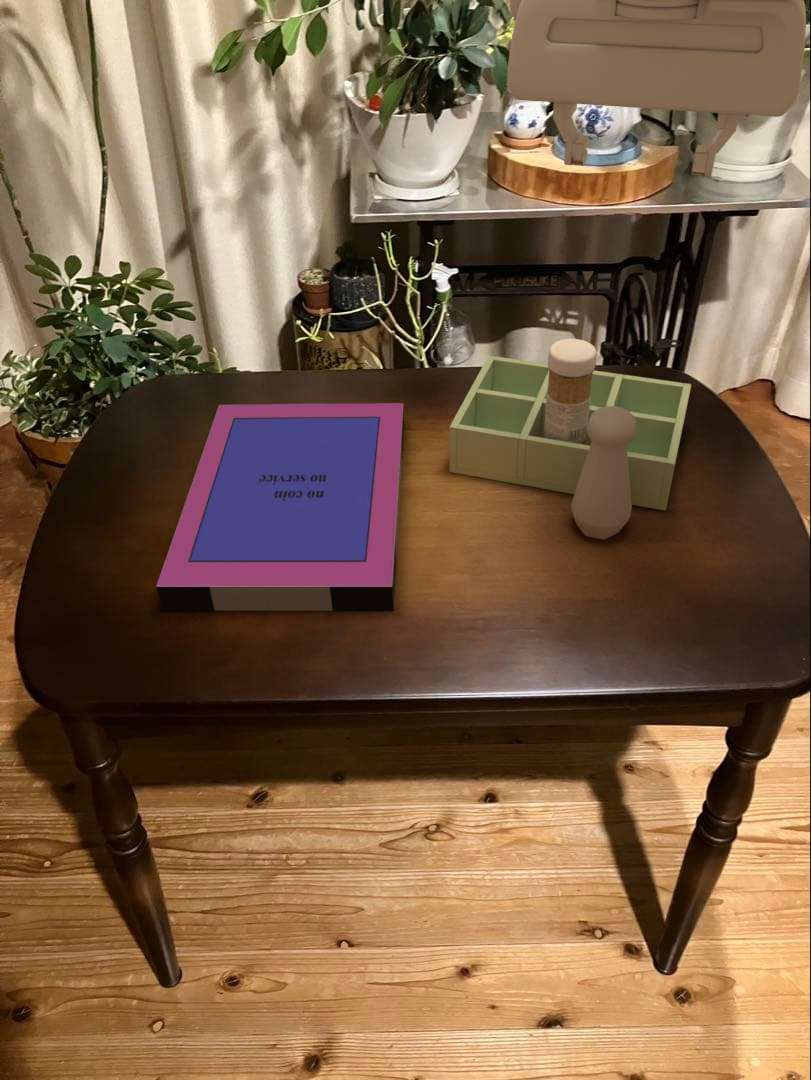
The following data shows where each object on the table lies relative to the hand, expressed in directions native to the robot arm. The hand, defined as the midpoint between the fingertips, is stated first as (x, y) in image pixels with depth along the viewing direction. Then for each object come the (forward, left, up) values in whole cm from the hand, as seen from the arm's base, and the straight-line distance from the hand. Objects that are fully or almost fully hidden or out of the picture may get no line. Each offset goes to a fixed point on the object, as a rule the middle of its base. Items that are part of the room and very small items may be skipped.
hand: (637, 168), depth 69 cm
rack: (+4, -11, -34) cm, 36 cm away
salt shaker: (-1, +1, -34) cm, 34 cm away
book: (+29, +7, -34) cm, 45 cm away
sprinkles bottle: (+4, -7, -33) cm, 34 cm away
